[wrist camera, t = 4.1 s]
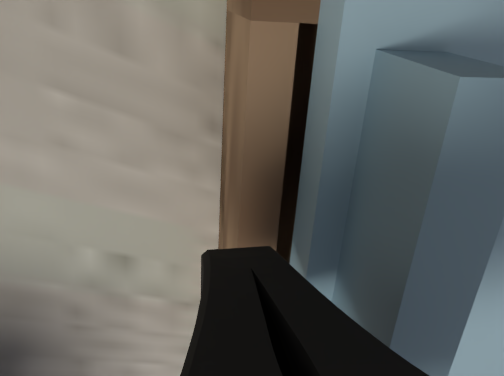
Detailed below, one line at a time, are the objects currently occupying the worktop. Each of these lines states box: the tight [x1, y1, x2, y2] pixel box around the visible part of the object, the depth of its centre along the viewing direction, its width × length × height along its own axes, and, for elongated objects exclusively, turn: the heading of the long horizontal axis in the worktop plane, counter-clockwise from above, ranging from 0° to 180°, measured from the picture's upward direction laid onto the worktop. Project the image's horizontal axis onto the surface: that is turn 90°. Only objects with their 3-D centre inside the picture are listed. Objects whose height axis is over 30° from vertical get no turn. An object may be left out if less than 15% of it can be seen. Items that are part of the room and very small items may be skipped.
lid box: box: [219, 0, 321, 264], centre depth 13 cm, size 13×15×5 cm
